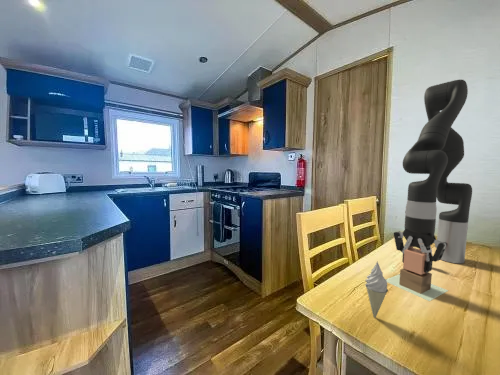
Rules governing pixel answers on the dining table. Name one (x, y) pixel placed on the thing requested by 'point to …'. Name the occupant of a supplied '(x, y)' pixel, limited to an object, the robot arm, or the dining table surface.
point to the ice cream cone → (376, 288)
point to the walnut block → (415, 281)
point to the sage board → (427, 295)
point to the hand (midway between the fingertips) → (416, 268)
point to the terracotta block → (414, 260)
